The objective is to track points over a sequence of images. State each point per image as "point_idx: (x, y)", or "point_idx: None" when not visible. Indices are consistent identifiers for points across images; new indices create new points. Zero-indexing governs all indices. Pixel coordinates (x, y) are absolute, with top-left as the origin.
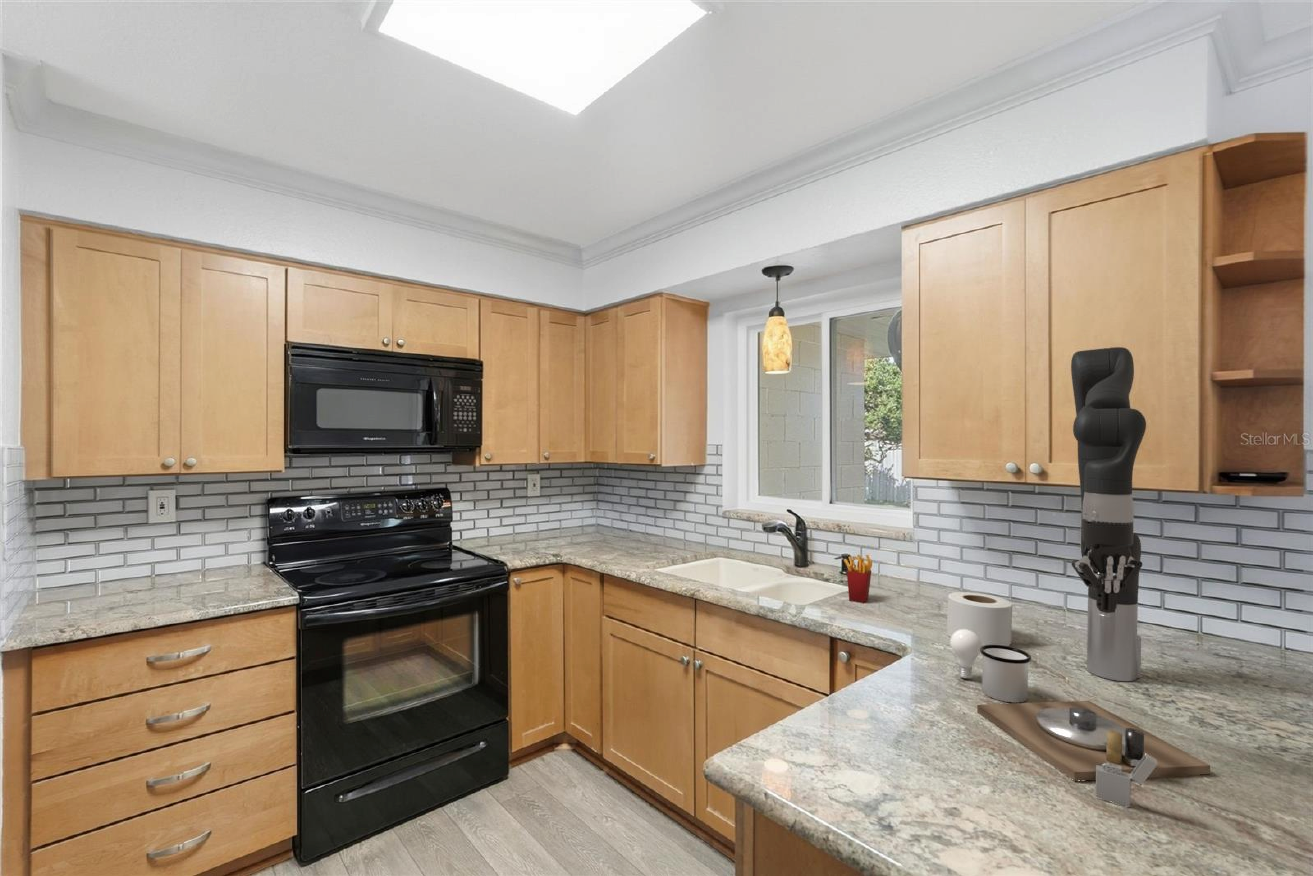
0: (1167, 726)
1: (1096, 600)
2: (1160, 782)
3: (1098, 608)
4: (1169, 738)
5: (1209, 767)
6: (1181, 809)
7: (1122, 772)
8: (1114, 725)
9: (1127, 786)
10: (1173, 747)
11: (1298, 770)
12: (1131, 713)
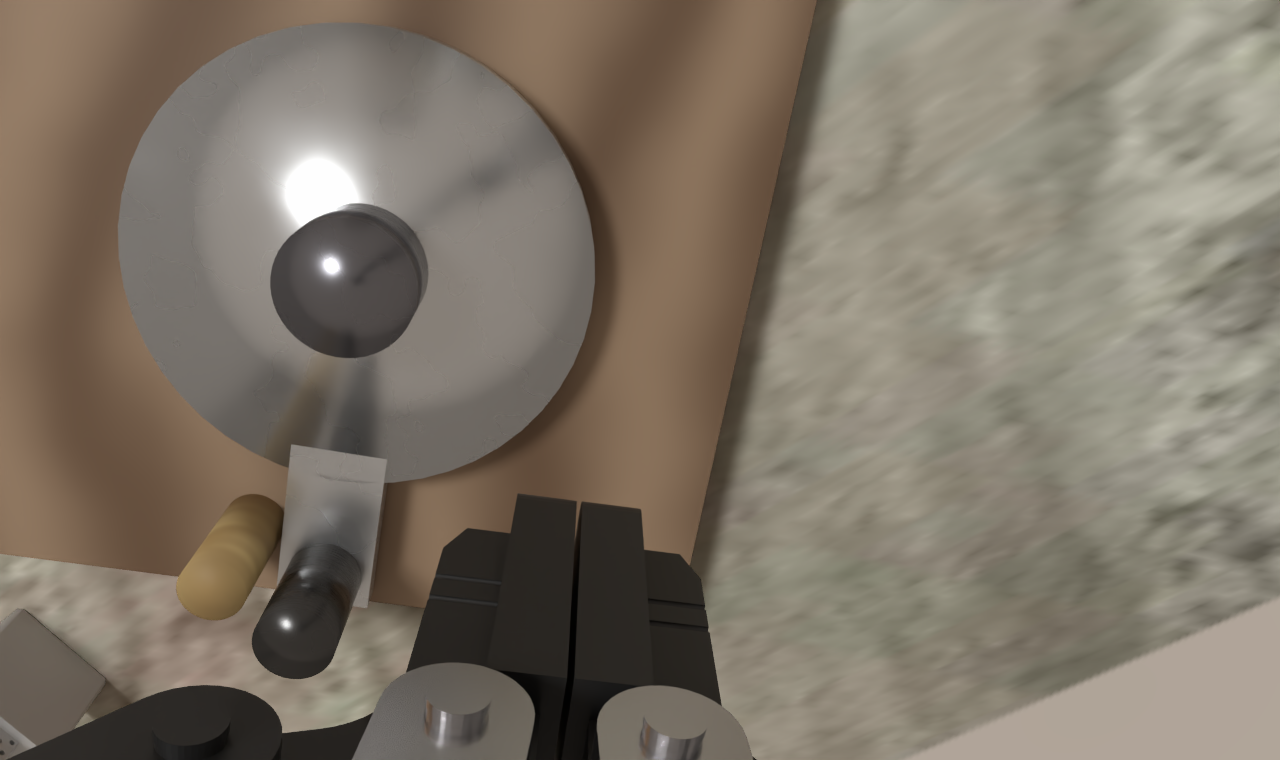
0: (1019, 247)
1: (434, 587)
2: (388, 610)
3: (519, 500)
4: (871, 347)
5: None
6: None
7: (24, 747)
8: (550, 317)
9: None
10: (689, 495)
11: (1078, 671)
12: (1009, 66)
